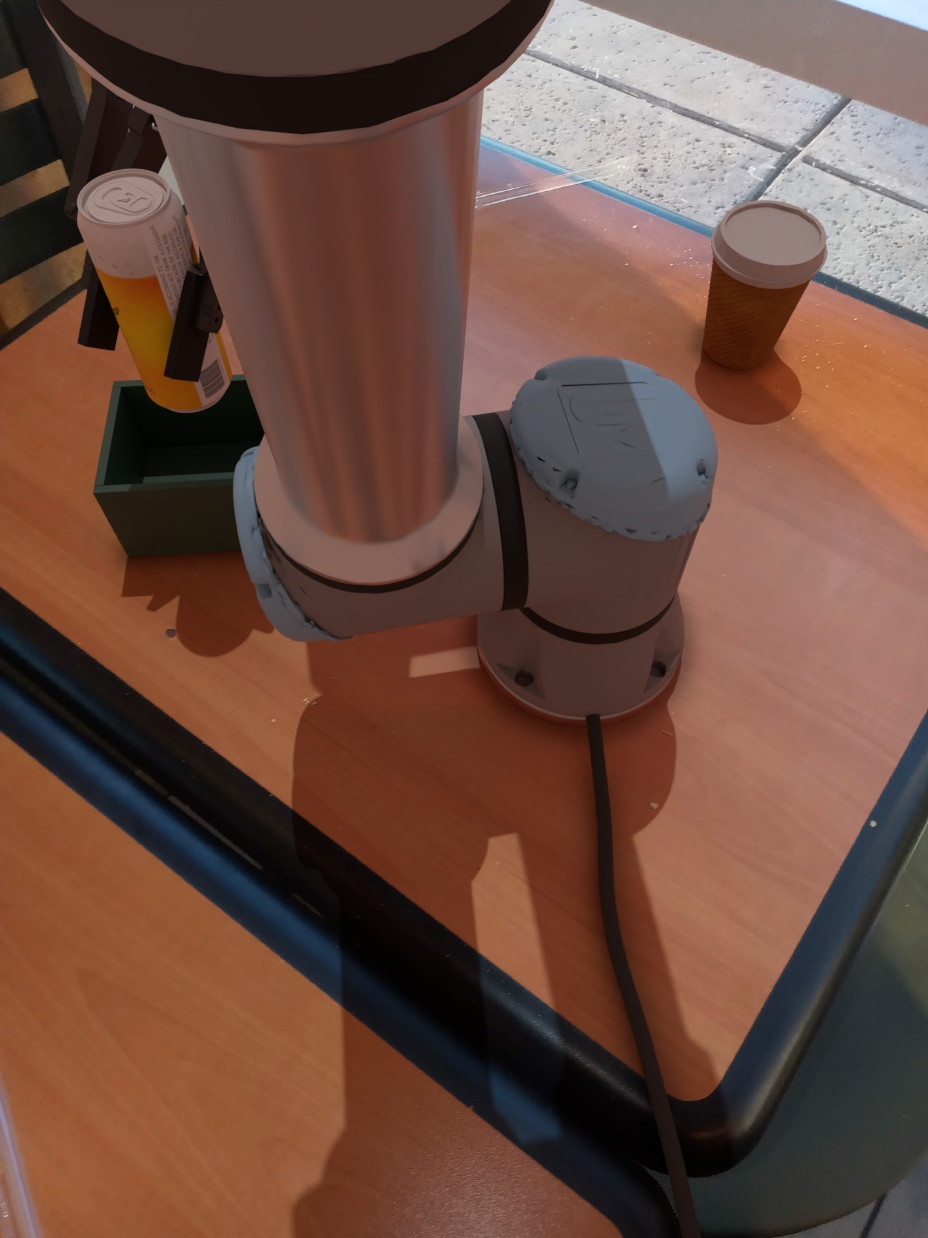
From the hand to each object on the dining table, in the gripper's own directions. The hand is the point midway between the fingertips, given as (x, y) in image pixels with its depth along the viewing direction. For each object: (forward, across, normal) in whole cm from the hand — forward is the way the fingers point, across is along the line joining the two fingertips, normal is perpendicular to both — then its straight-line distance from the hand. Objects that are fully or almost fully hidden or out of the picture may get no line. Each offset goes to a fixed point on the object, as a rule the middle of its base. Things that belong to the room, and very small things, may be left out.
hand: (138, 362), depth 59 cm
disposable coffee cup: (-15, -33, -40) cm, 54 cm away
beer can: (+1, 0, -6) cm, 7 cm away
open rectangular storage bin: (+10, 0, -15) cm, 18 cm away
